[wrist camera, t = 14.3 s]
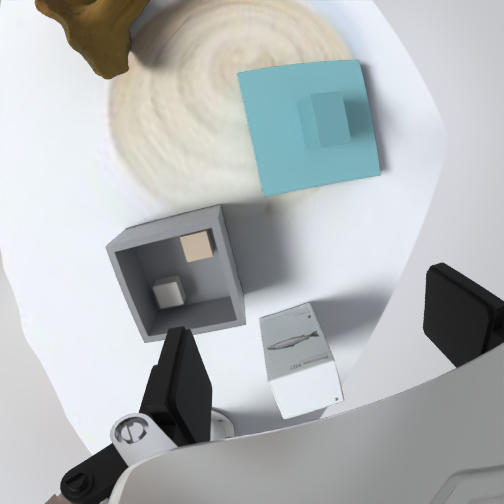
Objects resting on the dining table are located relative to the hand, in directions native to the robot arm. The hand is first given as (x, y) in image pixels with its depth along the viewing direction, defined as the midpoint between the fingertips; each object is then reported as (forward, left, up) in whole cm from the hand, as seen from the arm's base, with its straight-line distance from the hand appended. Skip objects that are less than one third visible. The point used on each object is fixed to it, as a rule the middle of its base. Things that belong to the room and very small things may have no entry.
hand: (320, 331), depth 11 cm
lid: (+8, -8, -26) cm, 29 cm away
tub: (-5, +10, -26) cm, 29 cm away
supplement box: (-18, -1, -26) cm, 32 cm away
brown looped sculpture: (+31, +10, -27) cm, 42 cm away
